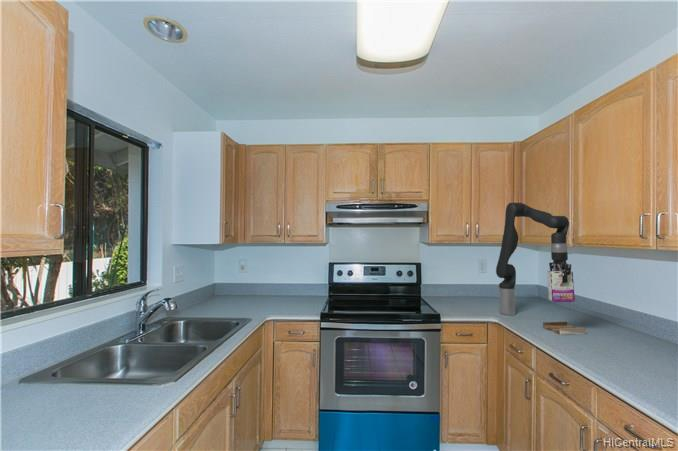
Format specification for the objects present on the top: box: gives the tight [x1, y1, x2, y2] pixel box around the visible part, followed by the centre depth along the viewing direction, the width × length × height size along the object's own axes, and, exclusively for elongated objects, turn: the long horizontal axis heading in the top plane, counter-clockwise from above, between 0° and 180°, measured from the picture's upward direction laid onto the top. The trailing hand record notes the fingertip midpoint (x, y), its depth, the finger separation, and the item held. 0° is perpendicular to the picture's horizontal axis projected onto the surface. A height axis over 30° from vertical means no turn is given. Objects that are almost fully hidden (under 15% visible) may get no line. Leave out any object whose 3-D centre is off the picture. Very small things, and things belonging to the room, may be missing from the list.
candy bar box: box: [547, 270, 576, 303], centre depth 179 cm, size 11×5×16 cm, turn 78°
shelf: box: [542, 321, 587, 336], centre depth 178 cm, size 14×14×3 cm
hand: (560, 281), depth 179 cm, fingers closed on candy bar box, 5 cm apart
